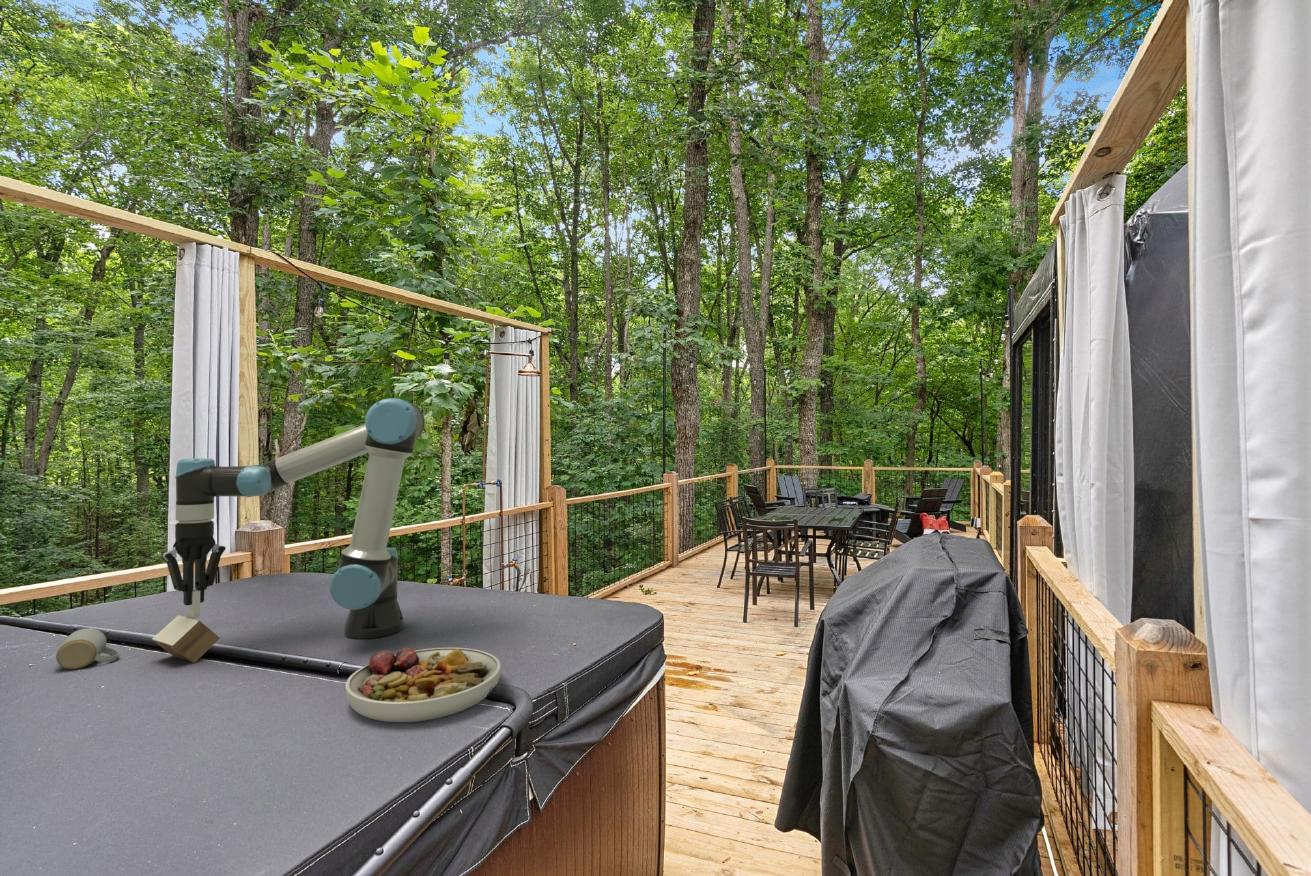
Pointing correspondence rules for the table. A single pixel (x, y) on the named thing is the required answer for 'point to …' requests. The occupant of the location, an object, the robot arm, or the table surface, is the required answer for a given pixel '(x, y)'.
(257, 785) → the table surface
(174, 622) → the walnut block
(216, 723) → the table surface
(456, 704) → the bowl
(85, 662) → the ceramic mug
